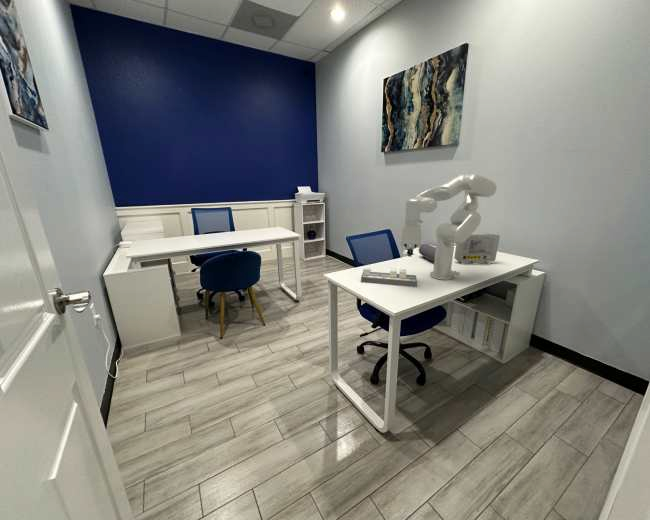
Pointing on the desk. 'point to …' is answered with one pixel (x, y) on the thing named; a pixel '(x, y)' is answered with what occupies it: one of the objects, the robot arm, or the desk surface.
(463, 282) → the desk surface
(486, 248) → the network device
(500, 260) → the desk surface
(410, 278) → the switch console
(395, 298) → the desk surface
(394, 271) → the slider middle
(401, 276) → the slider
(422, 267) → the desk surface
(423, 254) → the bluetooth speaker
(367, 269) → the slider
